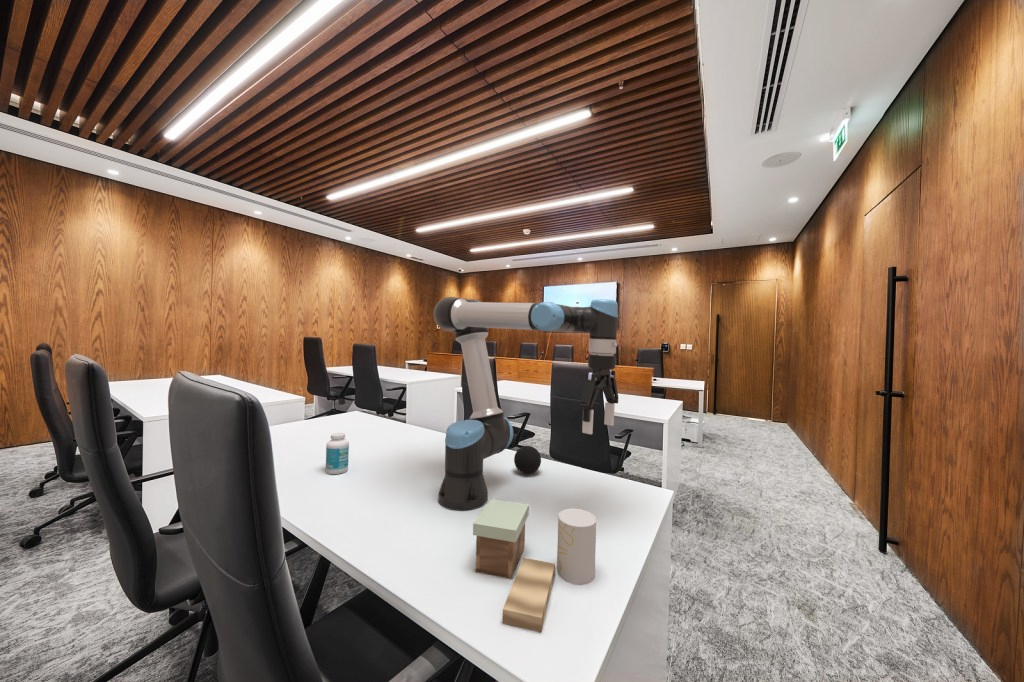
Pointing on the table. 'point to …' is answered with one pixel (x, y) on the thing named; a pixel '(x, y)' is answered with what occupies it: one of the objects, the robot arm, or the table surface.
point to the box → (499, 555)
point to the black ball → (527, 459)
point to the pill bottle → (337, 454)
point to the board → (529, 595)
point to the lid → (501, 520)
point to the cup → (576, 546)
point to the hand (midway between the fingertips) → (598, 429)
